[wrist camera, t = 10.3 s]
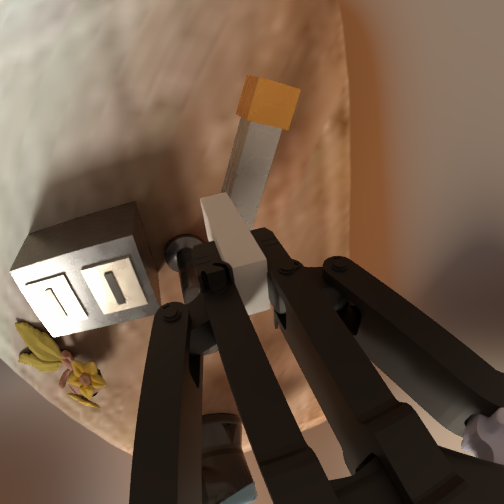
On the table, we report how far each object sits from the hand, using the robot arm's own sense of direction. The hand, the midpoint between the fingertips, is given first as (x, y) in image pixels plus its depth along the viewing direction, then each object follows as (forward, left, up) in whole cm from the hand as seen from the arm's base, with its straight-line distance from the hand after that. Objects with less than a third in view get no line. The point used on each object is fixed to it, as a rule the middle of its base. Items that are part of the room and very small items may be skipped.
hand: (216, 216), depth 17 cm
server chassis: (-10, +14, -16) cm, 23 cm away
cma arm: (-4, -1, -4) cm, 5 cm away
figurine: (-25, +27, -16) cm, 40 cm away
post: (-13, +3, -16) cm, 20 cm away
